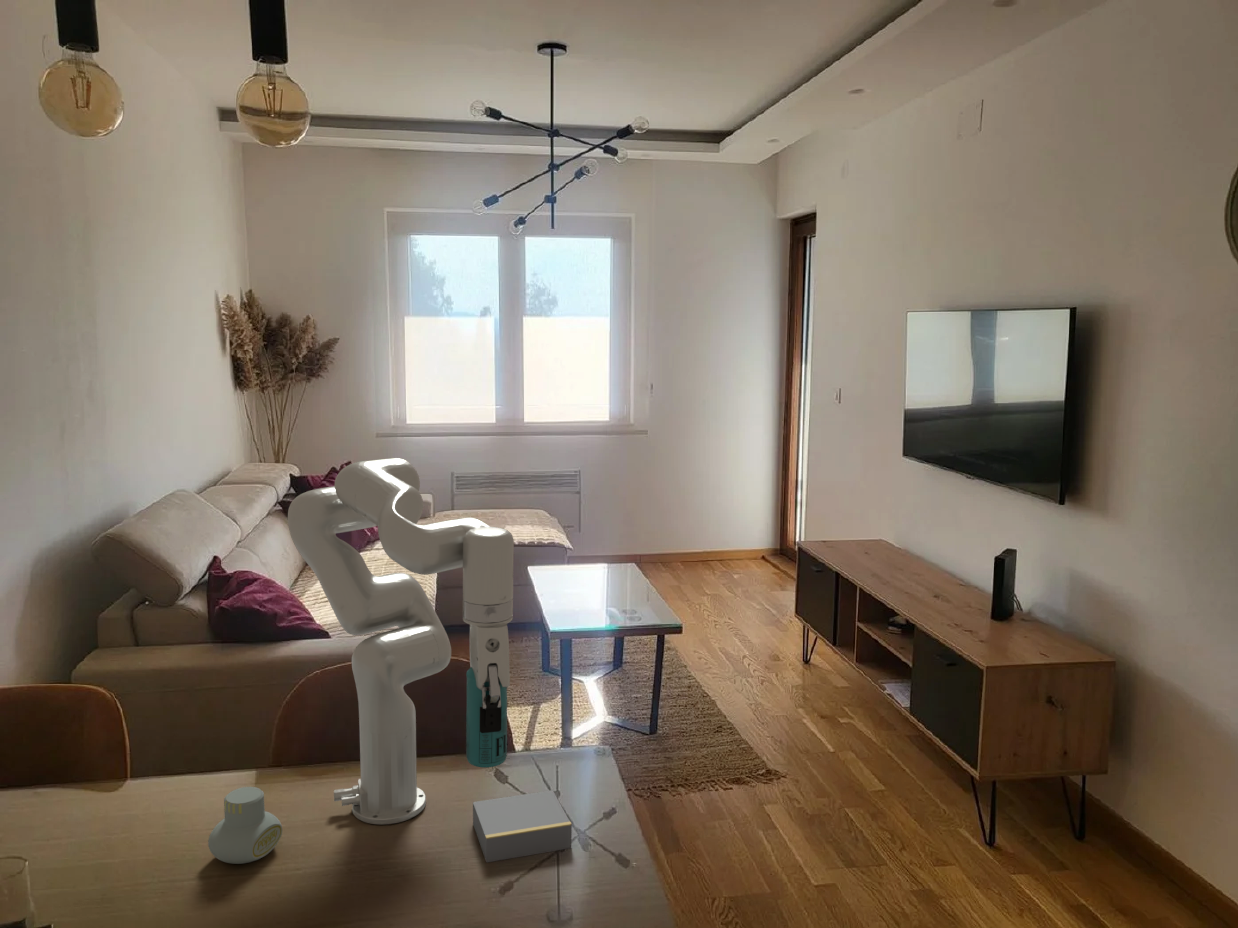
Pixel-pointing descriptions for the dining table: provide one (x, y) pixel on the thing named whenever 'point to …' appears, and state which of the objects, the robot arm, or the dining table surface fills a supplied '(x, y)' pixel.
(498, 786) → the dining table surface
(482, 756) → the beverage bottle
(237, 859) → the air freshener
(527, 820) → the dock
